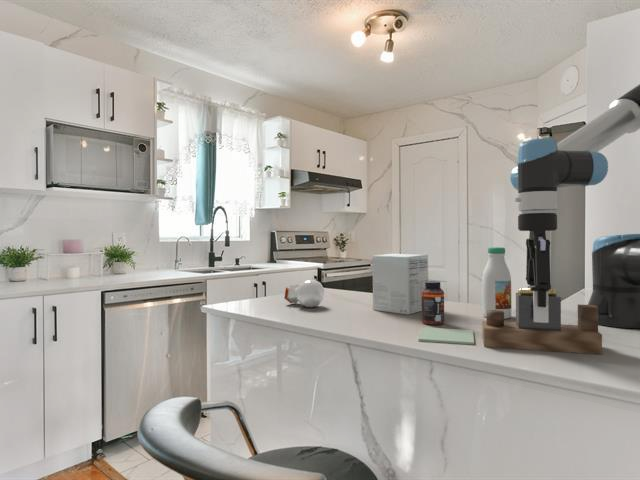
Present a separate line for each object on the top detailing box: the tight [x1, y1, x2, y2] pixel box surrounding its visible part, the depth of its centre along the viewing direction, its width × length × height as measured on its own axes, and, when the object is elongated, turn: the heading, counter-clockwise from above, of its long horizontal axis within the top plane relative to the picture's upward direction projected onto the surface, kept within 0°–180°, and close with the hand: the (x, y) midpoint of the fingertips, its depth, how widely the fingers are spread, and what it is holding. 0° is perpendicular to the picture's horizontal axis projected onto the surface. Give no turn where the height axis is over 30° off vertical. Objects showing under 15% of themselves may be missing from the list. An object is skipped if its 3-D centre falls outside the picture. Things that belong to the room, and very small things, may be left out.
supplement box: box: [371, 253, 429, 315], centre depth 136 cm, size 13×13×18 cm
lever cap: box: [515, 287, 562, 331], centre depth 93 cm, size 8×5×8 cm, turn 72°
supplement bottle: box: [421, 280, 445, 326], centre depth 116 cm, size 6×6×11 cm
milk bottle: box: [481, 246, 512, 320], centre depth 123 cm, size 8×8×20 cm
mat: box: [417, 326, 475, 346], centre depth 102 cm, size 12×12×1 cm
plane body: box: [482, 304, 603, 355], centre depth 93 cm, size 22×8×9 cm, turn 72°
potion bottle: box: [284, 278, 325, 308], centre depth 145 cm, size 9×10×15 cm
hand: (537, 318), depth 93 cm, fingers open, 8 cm apart
